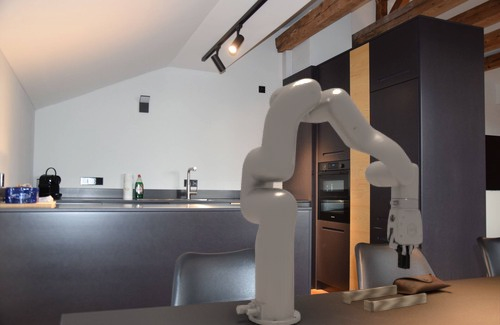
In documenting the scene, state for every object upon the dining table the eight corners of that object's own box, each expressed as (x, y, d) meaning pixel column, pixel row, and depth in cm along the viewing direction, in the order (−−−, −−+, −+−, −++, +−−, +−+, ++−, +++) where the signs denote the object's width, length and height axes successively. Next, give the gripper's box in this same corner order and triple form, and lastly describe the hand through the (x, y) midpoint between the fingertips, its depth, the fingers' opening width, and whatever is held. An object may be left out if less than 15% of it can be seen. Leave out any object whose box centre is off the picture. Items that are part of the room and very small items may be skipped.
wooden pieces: (371, 312, 111) (371, 302, 111) (342, 301, 121) (342, 292, 122) (426, 302, 120) (426, 293, 121) (394, 293, 131) (394, 285, 131)
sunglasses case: (415, 293, 125) (403, 272, 129) (400, 303, 130) (389, 283, 134) (453, 285, 134) (441, 266, 138) (438, 295, 139) (427, 276, 143)
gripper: (395, 205, 119) (394, 272, 118) (432, 206, 126) (432, 269, 125) (376, 203, 126) (375, 267, 125) (412, 204, 133) (411, 264, 132)
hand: (403, 268), depth 125 cm, fingers closed
